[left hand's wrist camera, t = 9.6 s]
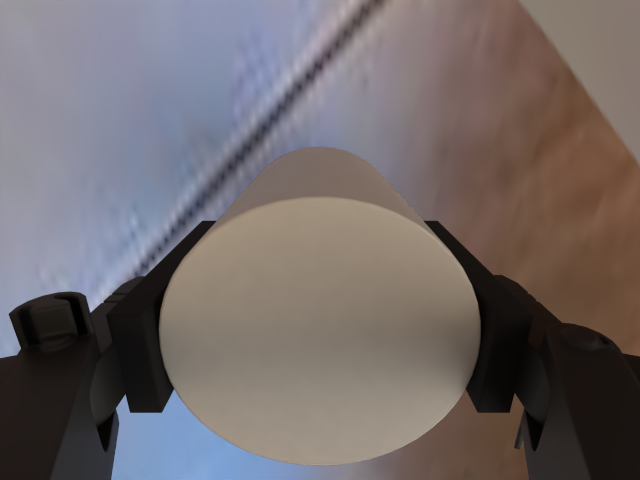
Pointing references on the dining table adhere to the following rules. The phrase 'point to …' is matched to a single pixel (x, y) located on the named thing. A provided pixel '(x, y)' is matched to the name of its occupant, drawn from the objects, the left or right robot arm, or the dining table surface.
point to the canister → (319, 317)
